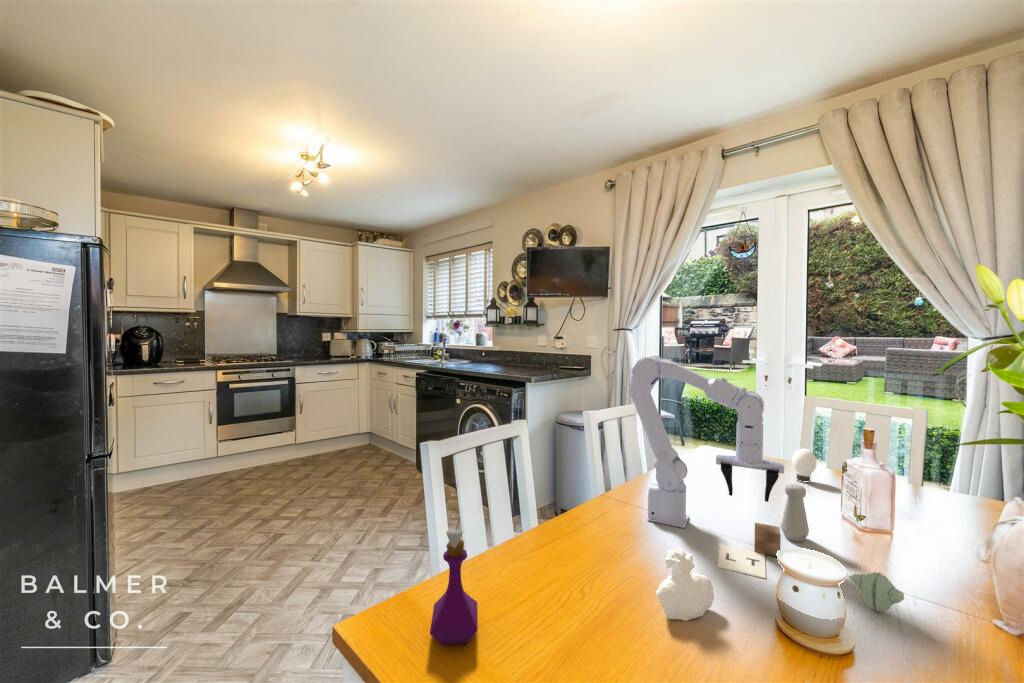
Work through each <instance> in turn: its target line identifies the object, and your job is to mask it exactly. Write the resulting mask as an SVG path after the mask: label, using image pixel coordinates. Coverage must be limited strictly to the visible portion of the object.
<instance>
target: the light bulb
mask: <svg viewBox="0 0 1024 683" xmlns="http://www.w3.org/2000/svg"><path fill="white" fill-rule="evenodd" d="M791 459H792V466H793V467H794V469H795V471H797V472H796V479H798V480H801V481H810V482H811V476H812V473H813V472H814V471H815V470H816V469H817V468H816V467H817V458H816V456H815V454H814V453H813V451H812V450H810V449H808V448H799V449H797V450H796V451H794V453H793V455H792V458H791ZM798 480H797V481H798Z"/></svg>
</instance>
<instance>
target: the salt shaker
mask: <svg viewBox="0 0 1024 683" xmlns="http://www.w3.org/2000/svg"><path fill="white" fill-rule="evenodd" d="M784 493H785V494H786V495H787V497H786V502H785V506H784V510H783V515H782V518H781V523H780V530H781V531H782V533H783V535H784V536H785V539H787V540H789V541H792V542H797V543H803V542H804V541H805V540H806V538H807V537H808V535H809V532H810V528H809V524H808V518H807V513H806V507H805V502H804V498H806V495H807V489H806V488H805V487H804V486H802V485H799V484H797V483H796V484H795V483H788V484H786V485H785V487H784Z"/></svg>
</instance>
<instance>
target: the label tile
mask: <svg viewBox="0 0 1024 683" xmlns="http://www.w3.org/2000/svg"><path fill="white" fill-rule="evenodd" d="M717 559H718V560H717V565H716V566H717V568H719V569H723V570H728V571H731V572H736V573H739V574H740V573H741V574H744V575H748V576H753V577H756V578H761V579H764V578H765V580H766V579H767V576H766V575H767V574H766V572H767V571H766V554H762V553H757V552H754V550H749V549H744V548H741V547H737V546H736V547H735V546H730V545H727V544H722V543H721V544H720V546H719V552H718V558H717Z"/></svg>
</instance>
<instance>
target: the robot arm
mask: <svg viewBox="0 0 1024 683" xmlns="http://www.w3.org/2000/svg"><path fill="white" fill-rule="evenodd" d="M672 378H673V379H676V380H678V381H680V382H683V383H685V384H687V385H690V386H691V387H694V388H696V389H699V390H701V391H703V392H704V394H705V397H706V398H707V399H709V400H711V401H713V402H715V403H717V404H720V405H722V406H725V407H726V408H728V409H730V410H735V411H736V413H737V422H736V432H735V434H736V437H735V438H736V439H735V440H736V444H735V455H722V454H716V456H715V465H718V466H719V465H720V470H721V473H722V475H723V477H724V479H725V482H726V485H727V489H728V490H727V491H728V496H731V497H732V496H733V493H734V492H733V491H734V490H733V467H737V468H738V467H739V468H746V469H753V470H758V471H759V470H761V471H766V472H765V491H764V501H765V503H769V499H770V496H771V492H772V490H773V488H774V485H775V484H776V483H777V482H778V479H779V477H780V474H785V463H783V462H776V461H771V460H767V459H763V458H764V456H763V455H764V454H763V453H764V451H763V450H764V449H763V448H764V424H763V422H764V417H763V413H764V411H765V408H764V407H765V402H764V401H765V400H764V399H763V398H762V396H761V395H760V394H759V393H757V392H756V391H754V390H753V391H752V390H749V391H748V388H746V387H744V386H743V387H739V386H738V385H735V384H732V383H730V382H728V381H729V379H728V378H726V377H722V378H719V377H714V378H711V379H709V378H707V377H706V376H704V375H702V374H699V373H697V372H695V371H693V370H692V369H689V368H687V367H685V366H683V365H681V364H680V363H677V362H675V361H673V360H670V359H666V358H662V357H661V356H659V355H651V356H648V357H647V356H644V357H642V358H640V359H638V360H637V361H636V362H635V364H634V366H633V367H632V369H631V382H630V387H629V388H630V389H629V393H630V396H631V399H632V402H633V403H634V406H635V409H636V412H637V414H638V416H639V420H640V422H641V424H642V427H643V430H644V432H645V435H646V437H647V440H648V443H649V445H650V447H651V450H652V453H653V465H654V467H655V478H656V479H655V480H656V482H657V483H654V482H653V483H652V482H651V483H650V484H649V487H648V494H647V495H648V496H647V517H646V518H647V519H646V520H647V521H650V522H654V523H658V524H664V525H668V526H673V527H677V528H683V529H685V528H686V526H687V524H688V521H689V518H690V515H689V514H687V485H686V483H685V482H684V479H685V478H686V477H687V475H688V466H687V465H686V463H685V462H684V461H683V459H682V458H680V456H679V454H678V452H677V450H676V449H675V448H674V447H673V445H672V443H671V440H670V438H669V435H668V433H667V430H666V429H665V425H664V424H663V421H662V418H661V416H660V413H659V411H658V410H659V409H658V408H657V406H656V403H655V400H654V398H653V396H652V391H653V388H654V387H655V385H656V383H657V382H658V381H659V380H660V379H672Z"/></svg>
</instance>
